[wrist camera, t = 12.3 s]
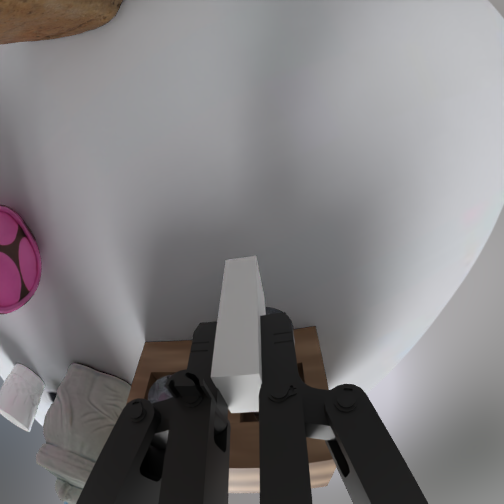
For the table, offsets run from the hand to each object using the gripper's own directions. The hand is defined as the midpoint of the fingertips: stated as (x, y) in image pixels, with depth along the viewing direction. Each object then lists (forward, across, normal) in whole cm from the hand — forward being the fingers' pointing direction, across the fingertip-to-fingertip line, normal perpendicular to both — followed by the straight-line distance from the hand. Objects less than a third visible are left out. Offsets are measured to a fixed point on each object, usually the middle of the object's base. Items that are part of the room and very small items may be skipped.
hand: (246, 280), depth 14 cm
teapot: (+6, +24, +22) cm, 33 cm away
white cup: (+6, +42, +20) cm, 47 cm away
